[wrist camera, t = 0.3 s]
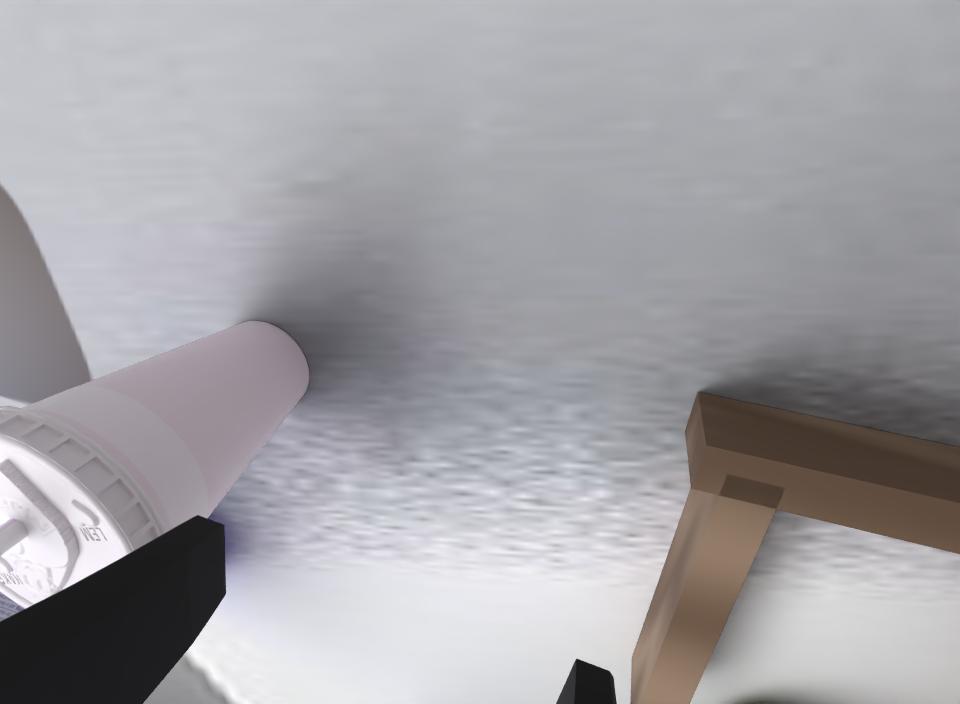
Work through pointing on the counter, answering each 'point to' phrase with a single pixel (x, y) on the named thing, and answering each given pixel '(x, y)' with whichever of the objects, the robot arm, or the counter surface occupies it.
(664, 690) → the walnut frame
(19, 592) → the smoothie
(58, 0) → the counter surface
